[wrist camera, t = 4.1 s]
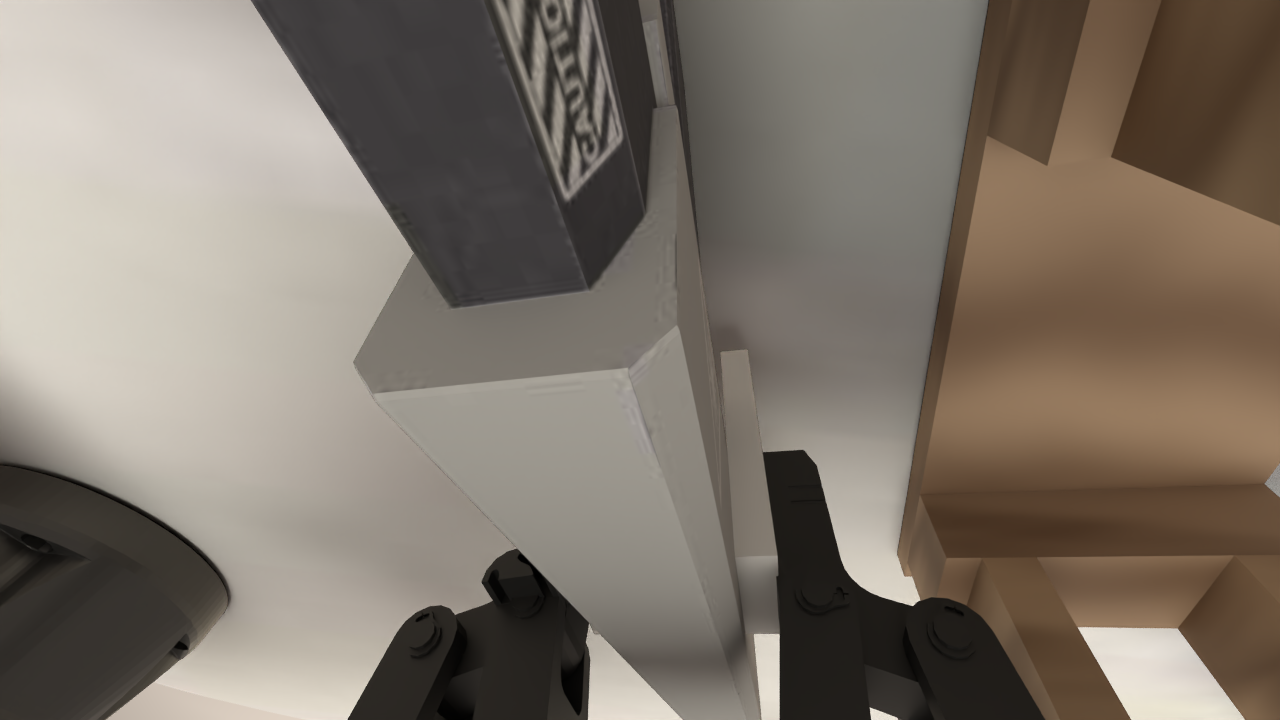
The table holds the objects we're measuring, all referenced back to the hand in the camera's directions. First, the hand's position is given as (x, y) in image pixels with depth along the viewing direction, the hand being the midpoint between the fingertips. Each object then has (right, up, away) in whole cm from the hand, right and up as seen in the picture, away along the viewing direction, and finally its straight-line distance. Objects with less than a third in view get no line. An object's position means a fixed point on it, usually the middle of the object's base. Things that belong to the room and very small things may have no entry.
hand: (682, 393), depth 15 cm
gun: (0, +1, +1) cm, 1 cm away
